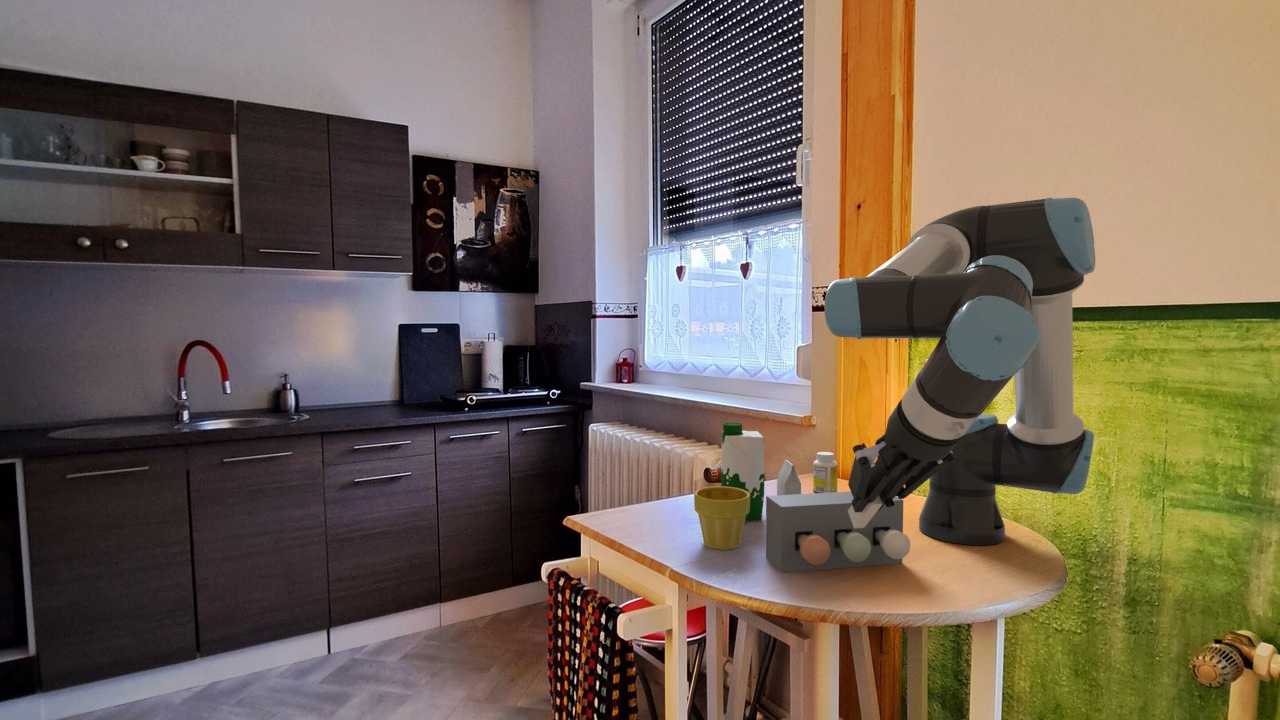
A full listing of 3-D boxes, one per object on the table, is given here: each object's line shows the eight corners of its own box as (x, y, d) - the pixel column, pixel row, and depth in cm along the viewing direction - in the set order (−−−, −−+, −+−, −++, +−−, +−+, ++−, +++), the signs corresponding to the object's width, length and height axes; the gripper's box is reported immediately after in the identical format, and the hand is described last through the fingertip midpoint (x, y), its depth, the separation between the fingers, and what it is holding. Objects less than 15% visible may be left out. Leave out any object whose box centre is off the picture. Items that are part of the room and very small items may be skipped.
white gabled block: (784, 510, 144) (784, 465, 143) (777, 502, 150) (777, 459, 150) (800, 510, 144) (801, 465, 143) (792, 502, 151) (793, 459, 150)
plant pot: (747, 555, 116) (748, 501, 115) (690, 551, 118) (690, 498, 117) (751, 537, 126) (751, 487, 125) (698, 533, 128) (698, 484, 127)
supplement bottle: (834, 492, 159) (835, 451, 158) (839, 498, 153) (839, 455, 153) (811, 492, 159) (811, 450, 159) (815, 498, 154) (815, 455, 153)
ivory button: (890, 546, 112) (891, 521, 111) (910, 558, 106) (910, 531, 106) (867, 548, 111) (867, 522, 111) (885, 560, 105) (885, 533, 105)
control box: (880, 549, 118) (881, 490, 118) (902, 563, 111) (903, 500, 111) (765, 557, 115) (766, 495, 114) (781, 572, 108) (781, 506, 107)
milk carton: (719, 510, 144) (719, 421, 143) (760, 510, 143) (760, 421, 142) (723, 522, 135) (723, 427, 134) (767, 522, 135) (767, 427, 134)
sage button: (853, 549, 111) (853, 523, 110) (870, 561, 105) (871, 534, 105) (828, 550, 110) (829, 525, 110) (845, 563, 104) (845, 536, 104)
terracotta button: (814, 551, 109) (814, 526, 109) (830, 564, 104) (830, 537, 103) (789, 553, 109) (790, 527, 108) (804, 566, 103) (804, 538, 103)
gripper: (892, 445, 69) (820, 547, 87) (1000, 441, 72) (909, 541, 89) (867, 391, 74) (803, 497, 92) (968, 389, 77) (888, 493, 94)
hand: (855, 519), depth 90 cm, fingers closed
